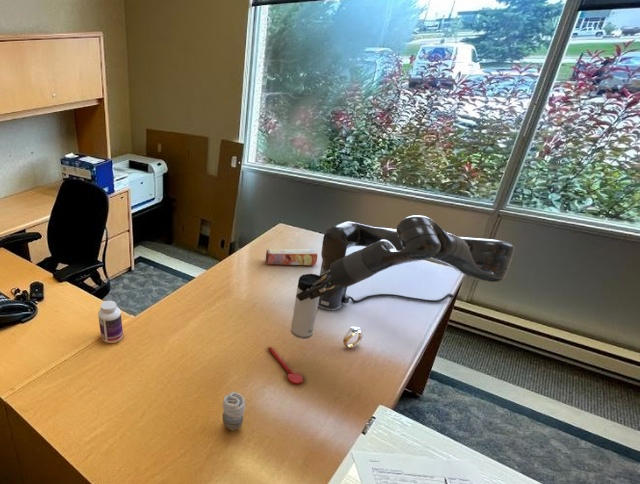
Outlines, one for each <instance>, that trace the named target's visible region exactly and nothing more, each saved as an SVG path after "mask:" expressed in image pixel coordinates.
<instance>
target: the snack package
mask: <svg viewBox="0 0 640 484" xmlns="http://www.w3.org/2000/svg"><path fill="white" fill-rule="evenodd" d="M265 252H266V253H265V262H266V264H267V265H281V266H282V265H284V266H285V265H288V266H312V267H313V266H316V264H317V261H318V253H317V250H316V249H267V250H266V251H265Z"/></svg>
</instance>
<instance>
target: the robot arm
mask: <svg viewBox="0 0 640 484" xmlns="http://www.w3.org/2000/svg"><path fill="white" fill-rule="evenodd" d="M352 247H362V248H361V249H359V250H356V251H353V252H351V253H349V254H348V255H347V250H348V249H349V248H352ZM515 251H516V247H515V246H514V244H512V243H511V242H508V241H505V240H500V239H490V238H480V237H466V236H458V235H456V234H453V233H450V232H448V231H446V230H445V229H444V228H443V227H441V225H440V224H438V223H437V222H436V221H434V220H433V219H432V218H429V217H427V216H425V215H410V216H407V217H405V218H403V219H402V220H400V221H399V222H398V224H397V225H396V228H388V227H375V226H371V225H366V224H362V223H358V222H353V221H343V222H340V223H337V224H334V225H332V226H330V227H328V228H327V229H326V230H325V232H324V234H323V238H322V243H321V253H320V254H321V259H322V261H321V266H320V271H319V276H322V277H321V279H319V280H318V281H316V282H315V283H313V286H312V287H310V288H308V289H307V290H305V291H302V292H300V293H298V294H297V295H296V294H295V298H296V297H297V298H298V299H299V300H300V301H303V300H305V299H307V298H310V299H311V300H312V299H314V298H317V297H319V296H320V297H319V302H318V308H320V309H321V310H326V311H337V310H340V309H341V307H343V306H344V304H348V303H349V302H350V300H351V301H352V302H353V303H360V302H363V301H364V300H366V299H369V298H375V297H395V298H401V299H407V300H412V301H413V300H414V301H419V302H428V303H440V302H443V301H445V300H446V299H448V297H450V298H451V297H452V298H454V295H453V294H451V293H447V294H446V295H445V296H443V297H442V298H440V299H425V298H419V297H418V298H417V297H410V296H405V295H400V294H392V293H377V294H371V295H367V296H364V297H363V298H360V299H357V300H356V299H354V298H353V297H352V296H350V295H347V290H348V287H351V286H354V285H355V284H358V283H360V282H362V281H365V280H367V279H369V278H371V277H373V276H374V275H376V274H378V273H380V272H383V271H385V270H387V269H389V268H392V267H394V266H399V265H403V264H407V263H413V262H420V261H426V260H429V259H432V260H434V261H436V262H441V263H443V264H446V265H448V266H449V267H450V268H451V269H454V270H455V271H457V272H458V273H460V274H461V275H463V276H465V277H467V278H470V279H472V280H476V281H481V282H486V283H500V282H502V281H503V280H504V279H505V278H506V276H507V274H508V271H509V268H510V265H511V262H512V260H513V258H514V254H515ZM317 284H319V286H317ZM313 292H314V293H313Z"/></svg>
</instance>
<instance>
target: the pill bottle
mask: <svg viewBox="0 0 640 484" xmlns="http://www.w3.org/2000/svg"><path fill="white" fill-rule="evenodd" d="M97 313H98V314H97V317H98V324H99V332H100V338H101V340H102V341H104V342H105V343H107V344H115V343H119V341H121V340H122V339H123V336H124V331H123V329H124V328H123V322H122V312H121V309H120V308H119V306H117V302H116V301H114V300H105V301H102V302H101V303H100V309H99V310H98V312H97Z"/></svg>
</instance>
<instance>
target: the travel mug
mask: <svg viewBox="0 0 640 484" xmlns="http://www.w3.org/2000/svg"><path fill="white" fill-rule="evenodd" d="M321 277H322V276H320V274H319V275H318V274H317V273H316V274H315V273H305V274H302V275H300V276H299V278H298V283H297V288H296V293H295V300H294V307H293V313H292V320H291V327H290V333H291V334H292V336H294V337H295V338H297V339H301V340H307V339H310V338H312V337H313V335H314V329H315V324H316V318H317V313H318V308H319V307H318V302H319V297H320V296H319V297H317V298H314V299H312V300H311V299H310V298H307V299H305V300H303V301H300V300H299V299H298V298H297V297H296V295H297V294H298V293H300V292H302V291H305V290H307V289H308V288H310V287H312V286H313V283H315V282H316V281H318V280H319V279H321ZM317 286H319V284H317ZM313 293H314V292H313Z"/></svg>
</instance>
